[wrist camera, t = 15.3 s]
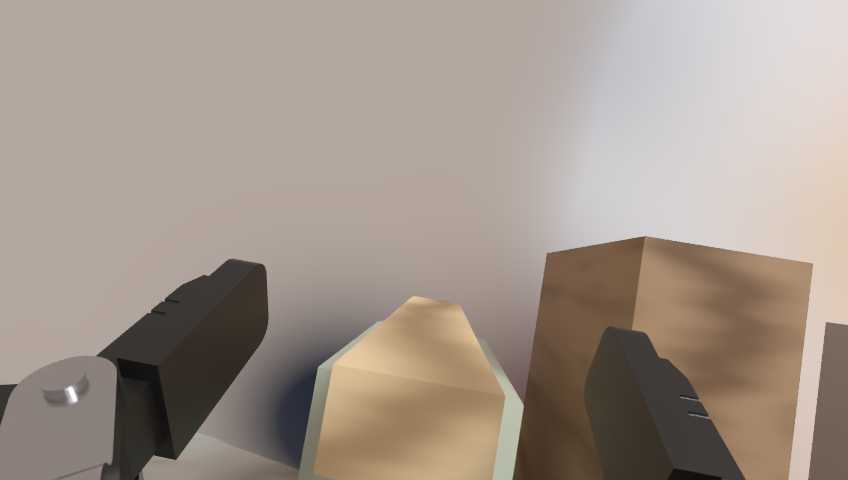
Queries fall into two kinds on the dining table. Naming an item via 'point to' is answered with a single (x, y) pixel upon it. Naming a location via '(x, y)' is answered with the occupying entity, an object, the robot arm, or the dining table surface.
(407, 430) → the oak strip
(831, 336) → the grey tall block
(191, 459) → the dining table surface
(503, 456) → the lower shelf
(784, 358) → the tall wooden block
